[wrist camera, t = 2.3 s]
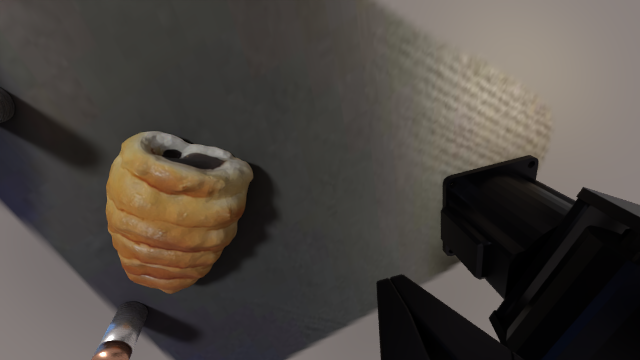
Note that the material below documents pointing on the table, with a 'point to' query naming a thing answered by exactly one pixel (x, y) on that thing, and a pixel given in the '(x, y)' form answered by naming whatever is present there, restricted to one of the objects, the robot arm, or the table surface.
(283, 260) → the table surface
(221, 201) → the pastry
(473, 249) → the robot arm
